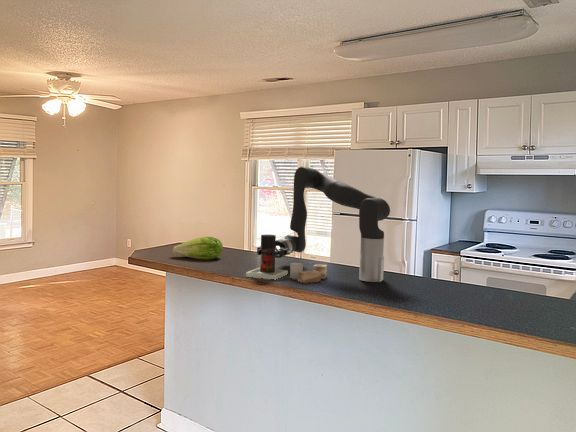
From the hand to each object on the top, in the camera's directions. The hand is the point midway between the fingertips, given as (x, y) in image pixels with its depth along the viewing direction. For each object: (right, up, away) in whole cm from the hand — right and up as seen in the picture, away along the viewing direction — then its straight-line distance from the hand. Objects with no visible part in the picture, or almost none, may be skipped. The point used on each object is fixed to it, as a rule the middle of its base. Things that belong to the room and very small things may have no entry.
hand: (265, 253), depth 196 cm
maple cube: (+22, -10, +3) cm, 25 cm away
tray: (+1, -9, +3) cm, 10 cm away
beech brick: (+17, -11, -6) cm, 21 cm away
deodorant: (+1, -8, +3) cm, 9 cm away
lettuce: (-36, -6, +43) cm, 56 cm away
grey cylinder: (+12, -10, 0) cm, 16 cm away
